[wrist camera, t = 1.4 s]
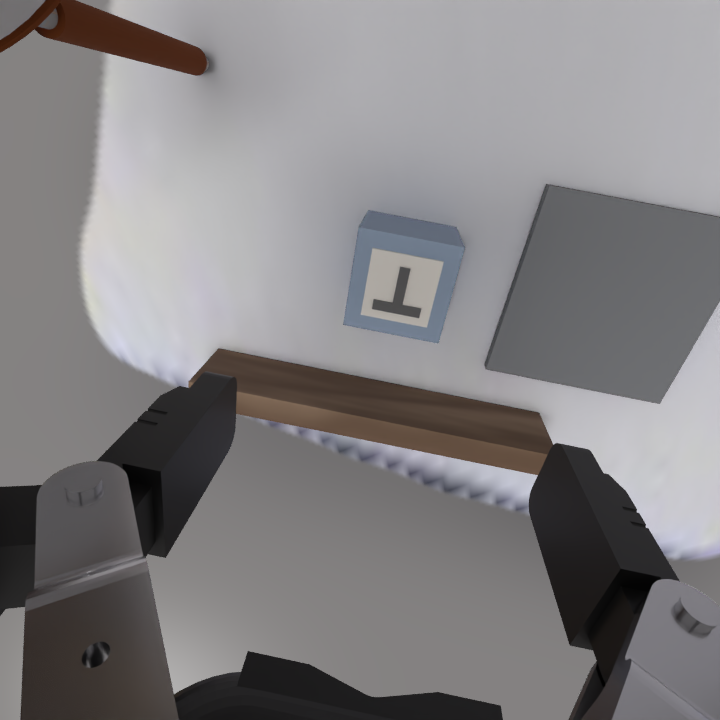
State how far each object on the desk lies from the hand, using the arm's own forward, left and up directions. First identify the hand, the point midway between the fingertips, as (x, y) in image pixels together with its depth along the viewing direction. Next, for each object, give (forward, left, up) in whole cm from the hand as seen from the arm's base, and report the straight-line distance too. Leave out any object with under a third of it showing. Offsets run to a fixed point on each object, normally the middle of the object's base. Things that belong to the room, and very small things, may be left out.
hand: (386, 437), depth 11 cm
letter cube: (0, 0, -17) cm, 17 cm away
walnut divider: (+9, 0, -17) cm, 19 cm away
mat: (0, +12, -17) cm, 21 cm away
